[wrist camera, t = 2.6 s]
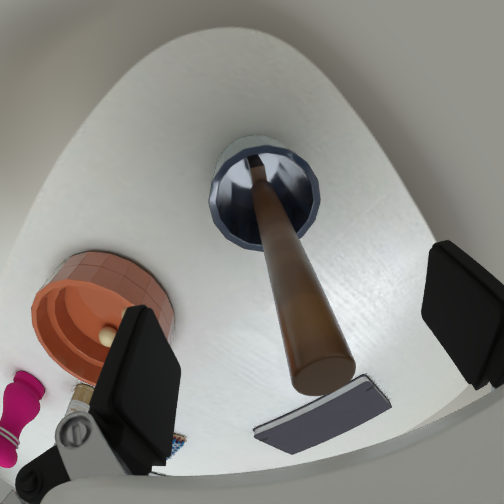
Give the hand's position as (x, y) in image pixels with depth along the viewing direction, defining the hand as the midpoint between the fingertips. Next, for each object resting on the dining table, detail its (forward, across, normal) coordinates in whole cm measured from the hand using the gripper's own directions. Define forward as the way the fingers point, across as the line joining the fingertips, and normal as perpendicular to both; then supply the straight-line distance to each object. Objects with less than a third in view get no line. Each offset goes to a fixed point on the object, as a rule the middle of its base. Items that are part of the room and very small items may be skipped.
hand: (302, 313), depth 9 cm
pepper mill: (+19, +45, +24) cm, 54 cm away
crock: (+19, 0, 0) cm, 19 cm away
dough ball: (+18, +20, +13) cm, 30 cm away
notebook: (+19, -4, +40) cm, 45 cm away
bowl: (+19, +19, +10) cm, 29 cm away
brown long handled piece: (+18, 0, 0) cm, 18 cm away
